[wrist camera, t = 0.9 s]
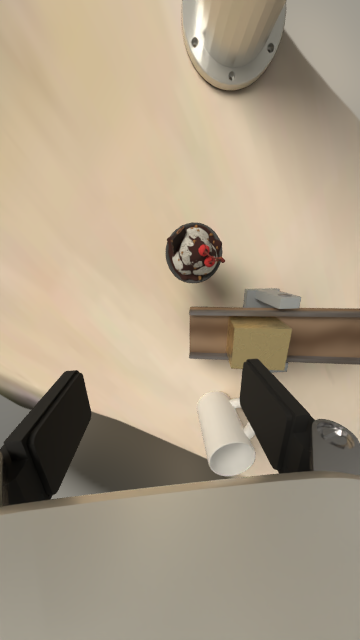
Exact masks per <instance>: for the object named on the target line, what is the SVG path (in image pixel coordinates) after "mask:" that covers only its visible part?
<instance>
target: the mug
mask: <svg viewBox="0 0 360 640" xmlns="http://www.w3.org/2000/svg"><path fill="white" fill-rule="evenodd" d="M236 408H241V405H240V398H235V399H230V397H229V396H228V395H227V394H225V393H223V392H221V391H211V392H208V393H206V394H204V395H203V396H202V397H201V398H200V399H199V401H198V403H197V413H198V418H199V422H200V427H201V431H202V436H203V440H204V445H205V449H206V454H207V459H208V463H209V466H210V468H211V469H212V471H214V472H215V473H216V474H219V475H222V476H234V475H238V474H241V473H243V472H244V471H246V470H248V469H249V468H250V467H251V466H252V464H253V463H254V461H255V449H254V447H253V445H252V443H251V441H250V439H252V438H253V436H254V435H255V433H254V431H253V429H252V427H251V425H250V423H249V421H248V423H247V425H246V426H245V427H244V426H243V424H242V422H241V420H240V418H239V416H238V414H237V412H236V410H235V409H236Z"/></svg>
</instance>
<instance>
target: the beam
mask: <svg viewBox="0 0 360 640" xmlns="http://www.w3.org/2000/svg"><path fill="white" fill-rule="evenodd" d="M189 315H190V355H189V358H192V359H221V360H229V359H228V356H227V353H226V346H227V332H228V318H229V316H243V317H277V318H278V319H280V320H281V321H282V322H283V323H285V324H286V325H287V326H289V327H290V328H291V329H292V332H291V337H290V343H289V348H288V353H287V358H286V362H305V363H334V364H360V309H338V308H292V309H278V308H223V307H190V311H189Z"/></svg>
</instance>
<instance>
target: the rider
mask: <svg viewBox="0 0 360 640" xmlns="http://www.w3.org/2000/svg"><path fill="white" fill-rule="evenodd" d="M291 332H292V329H291V328H290V327H289V326H287V325H286V324H285V323H283V322H282V321H281V320H280V319H278V318H277V317H243V316H229V318H228V332H227V346H226V353H227V356H228V359H229V363H230V366H231V368H233V369H243V363H244V362H246V360H247V359H259V360H260V361H261V362H262V363H263V365H264V366H265V367H266V368H267V369H268V370H284V369H285V364H286V358H287V353H288V348H289V343H290V337H291Z"/></svg>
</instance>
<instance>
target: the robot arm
mask: <svg viewBox="0 0 360 640" xmlns="http://www.w3.org/2000/svg"><path fill="white" fill-rule="evenodd" d="M181 14H182V31H183V38H184V42H185V45H186V49H187V52H188V55H189V57H190V59H191V61H192V63H193V65H194V66H195V68H196V70H197V71H198V73H199V74H200V75H201V76H202V77H203V78H204V79H205V80H206V81H207V82H209V83H210V84H212V85H213V86H215V87H217V88H220V89H223V90H238V89H242V88H244V87H247V86H249V85H250V84H252V83H253V82H254V81H256V80H257V79H258V78H259V77H260V76H261V75H262V74H263V73H264V71H265V70H266V68H267V67H268V65H269V64H270V62H271V60H272V58H273V57H274V55H275V53H276V51H277V48H278V45H279V43H280V40H281V37H282V33H283V29H284V24H285V16H286V0H182V9H181ZM240 405H241V408H242V410H243V412H244V413H245V415H246V417H247V419H248V421H249V423H250V425H251V427H252V429H253V431H254V433H255V435H256V437H257V439H258V440H259V442H260V444H261V446H262V448H263V450H264V452H265V454H266V456H267V458H268V460H269V462H270V464H271V465H272V467H273V468H274V469H275V470H278V472H279V474H270V475H260V476H251V477H241V478H232V479H223V480H213V481H204V482H195V483H187V484H177V485H169V486H160V487H151V488H142V489H133V490H125V491H116V492H109V493H100V494H91V495H83V496H75V497H66V498H59V499H51V497H52V495H54V494H56V493H57V491H58V490H59V487H60V485H61V483H62V481H63V478H64V476H65V474H66V472H67V470H68V467H69V465H70V463H71V461H72V459H73V457H74V454H75V452H76V450H77V448H78V445H79V443H80V441H81V439H82V437H83V434H84V432H85V430H86V428H87V426H88V424H89V421H90V419H91V409H90V405H89V400H88V396H87V391H86V387H85V383H84V378H83V374H82V373H79V371H77V370H76V371H65V372H64V373H63V374H62V376H61V377H60V378H59V379H58V380H57V381H56V382H55V384H54V385H53V386H52V387H51V388H50V389H49V390H48V392H47V393H46V394H45V395H44V396H43V397H42V399H41V400H40V401H39V402H38V403H37V404H36V405H35V407H34V408H33V409H32V410H31V411H30V412H29V414H28V415H27V416H26V417H25V418H24V419H23V421H22V422H21V423H20V424H19V425H18V426H17V427H16V429H15V430H14V431H13V432H12V433H11V435H10V436H9V437H8V438H7V439H6V440H5V441H4V445H3V446H2V448H1V449H0V640H360V443H359V441H358V439H357V438H356V437H355V435H354V434H353V433H352V432H350V431H349V430H348V429H347V428H345V427H343V426H342V425H340V424H338V423H336V422H333V421H330V420H326V419H318V420H314V419H313V418H312V417H311V416H310V414H309V413H308V412H307V410H306V409H305V408H304V407H303V406H302V405H301V404H300V403H299V402H298V401H297V400H296V399H295V398H294V397H293V396H292V394H291V393H290V392H289V391H288V390H287V389H286V388H285V387H284V386H283V385H282V384H281V383H280V382H279V381H278V379H277V378H276V377H275V376H274V375H273V374H272V373H271V372H270V371H269V370H268V369H267V368H266V367H265V366H264V365H263V363H262V362H261V361H260V360H259V359H247V360H246V362H244V363H243V371H242V381H241V391H240ZM50 499H51V500H50Z"/></svg>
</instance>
